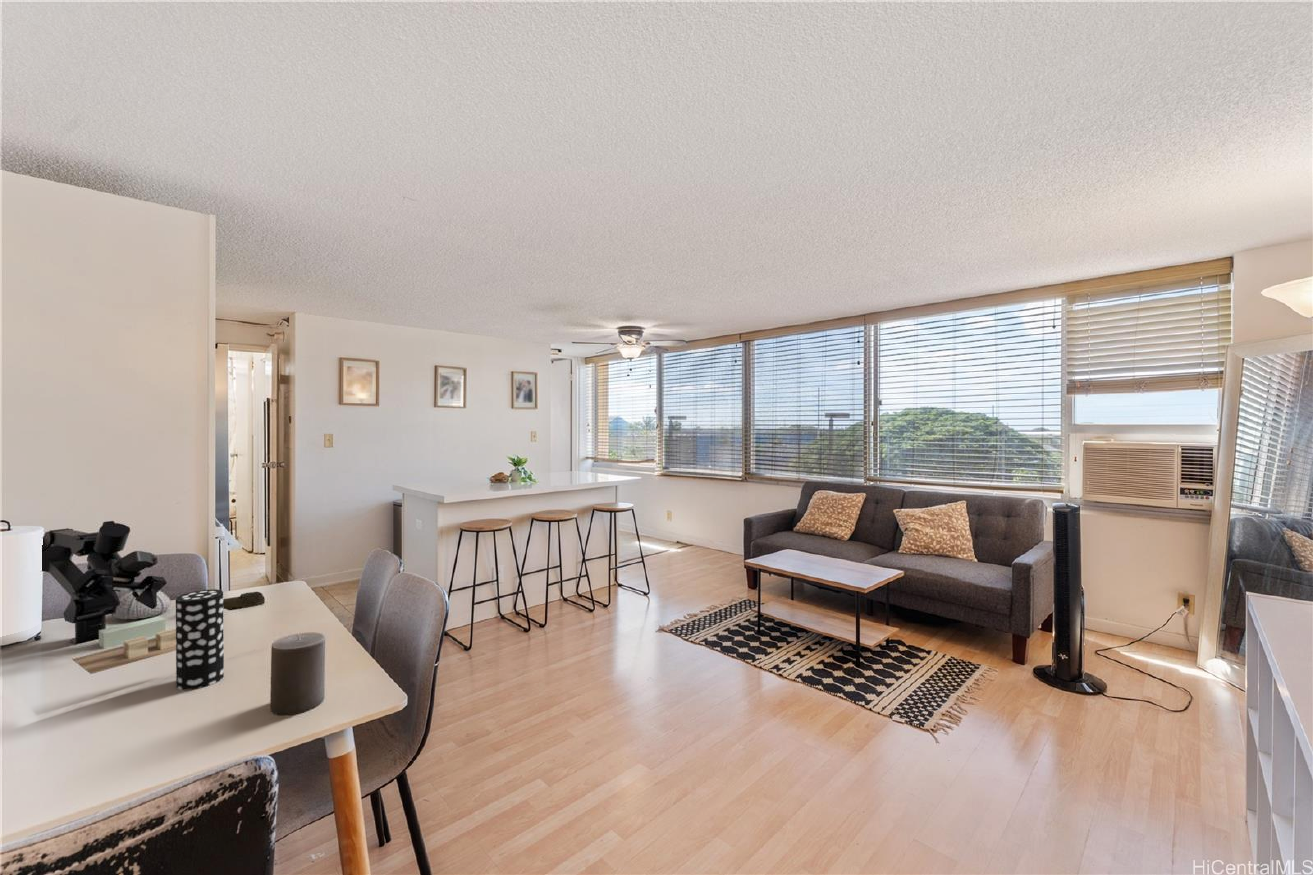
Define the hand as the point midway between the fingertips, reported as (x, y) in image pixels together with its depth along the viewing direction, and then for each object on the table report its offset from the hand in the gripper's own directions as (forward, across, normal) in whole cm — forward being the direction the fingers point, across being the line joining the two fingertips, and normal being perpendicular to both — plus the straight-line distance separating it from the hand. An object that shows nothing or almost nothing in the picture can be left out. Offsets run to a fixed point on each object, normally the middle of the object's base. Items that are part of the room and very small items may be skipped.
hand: (136, 606), depth 136 cm
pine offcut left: (+8, +2, +8) cm, 12 cm away
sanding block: (-1, +10, +13) cm, 16 cm away
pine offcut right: (+9, +7, +4) cm, 13 cm away
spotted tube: (+31, -3, -4) cm, 32 cm away
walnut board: (+8, +6, +8) cm, 13 cm away
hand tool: (-7, +36, +5) cm, 37 cm away
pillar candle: (+56, -8, -20) cm, 60 cm away
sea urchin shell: (-22, +27, +19) cm, 40 cm away
